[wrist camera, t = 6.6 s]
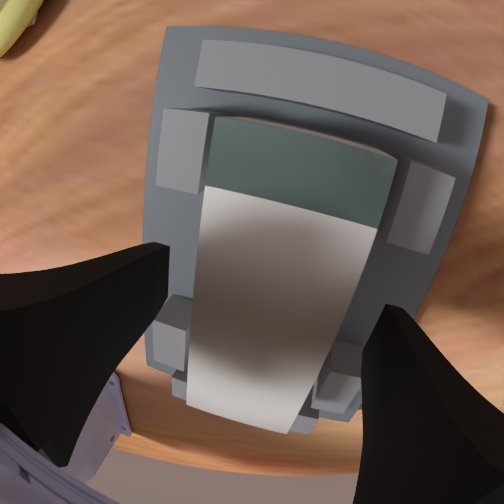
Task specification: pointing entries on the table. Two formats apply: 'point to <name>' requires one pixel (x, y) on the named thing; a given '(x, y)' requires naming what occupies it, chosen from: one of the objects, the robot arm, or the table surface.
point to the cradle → (322, 119)
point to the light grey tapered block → (277, 263)
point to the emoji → (15, 20)
